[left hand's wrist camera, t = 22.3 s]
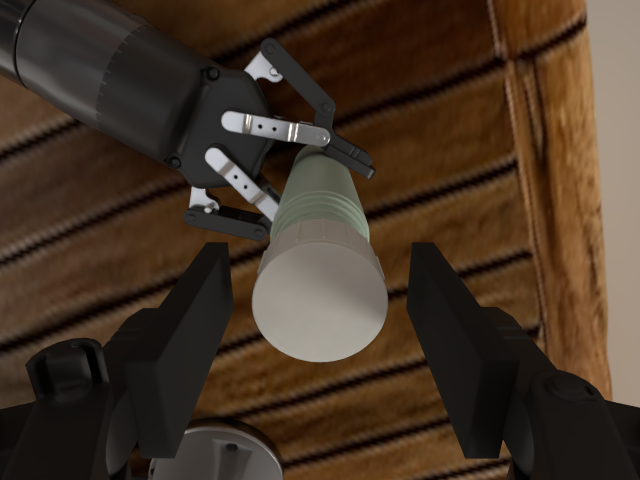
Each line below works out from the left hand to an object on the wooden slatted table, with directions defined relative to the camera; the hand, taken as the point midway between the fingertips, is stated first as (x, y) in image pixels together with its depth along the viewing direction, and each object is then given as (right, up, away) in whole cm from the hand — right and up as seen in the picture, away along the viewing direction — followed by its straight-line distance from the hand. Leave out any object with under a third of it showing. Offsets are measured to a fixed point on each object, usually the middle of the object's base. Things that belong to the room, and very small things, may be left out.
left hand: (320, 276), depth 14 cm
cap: (0, -1, -2) cm, 2 cm away
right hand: (+2, +4, +14) cm, 15 cm away
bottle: (0, +7, +19) cm, 21 cm away
